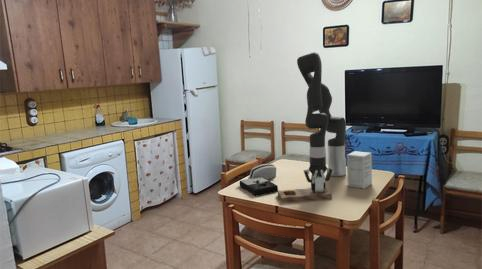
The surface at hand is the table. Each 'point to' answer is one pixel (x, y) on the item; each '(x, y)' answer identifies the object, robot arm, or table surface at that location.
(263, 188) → the multimeter
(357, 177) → the supplement box
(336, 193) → the table surface
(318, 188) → the steel peg
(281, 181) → the table surface
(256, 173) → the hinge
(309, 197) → the hole board
